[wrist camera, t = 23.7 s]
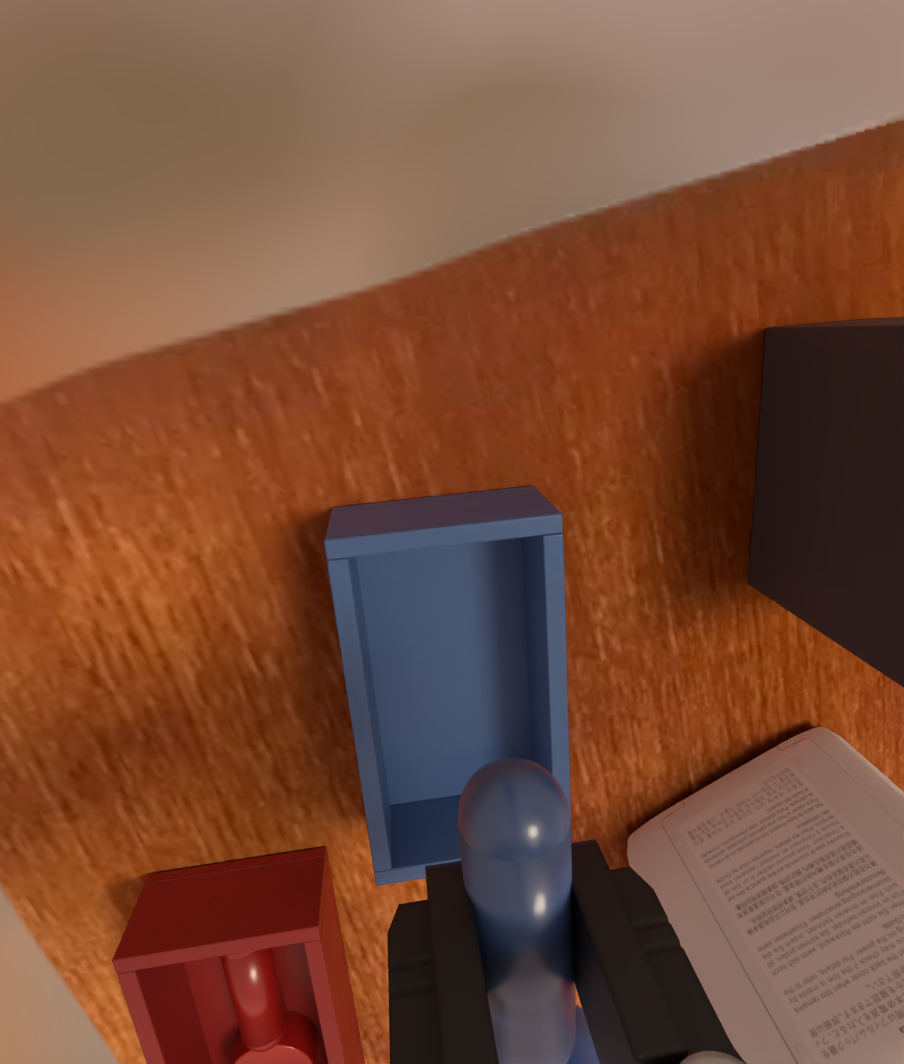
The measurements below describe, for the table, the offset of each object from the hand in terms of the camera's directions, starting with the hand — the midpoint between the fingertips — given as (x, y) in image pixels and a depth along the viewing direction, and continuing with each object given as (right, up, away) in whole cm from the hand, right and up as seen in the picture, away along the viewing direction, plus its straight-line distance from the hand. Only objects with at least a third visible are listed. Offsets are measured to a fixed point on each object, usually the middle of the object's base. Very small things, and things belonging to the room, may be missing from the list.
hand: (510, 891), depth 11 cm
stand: (+11, +9, +10) cm, 18 cm away
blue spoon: (0, -1, +1) cm, 2 cm away
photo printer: (+11, -5, +15) cm, 19 cm away
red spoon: (-9, -12, +14) cm, 20 cm away
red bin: (-9, -12, +15) cm, 21 cm away
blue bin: (-1, +2, +11) cm, 11 cm away
